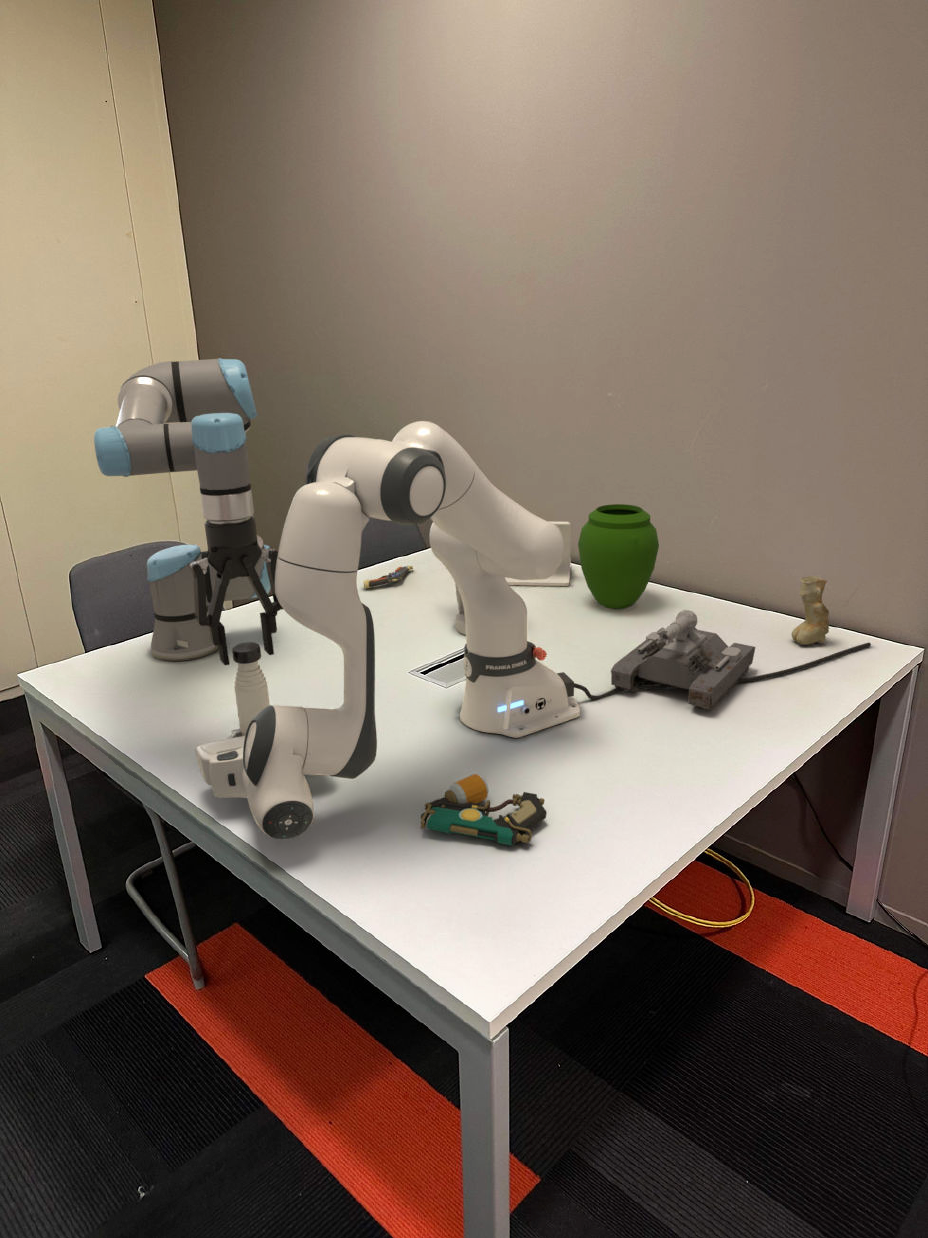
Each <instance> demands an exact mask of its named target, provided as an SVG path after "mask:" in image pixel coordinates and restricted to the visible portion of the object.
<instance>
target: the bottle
mask: <svg viewBox="0 0 928 1238" xmlns="http://www.w3.org/2000/svg"><path fill="white" fill-rule="evenodd" d="M236 670H237V671H236V673H235V674H236V676H235V678H234V680H235V681H234V694H235V695H234V696H235V702H236V709H237V716H238V723H239V724H238V725H239V729H240V731H241V734H242V736H246V732H247V729H248V726H249V724H250V722H251V721H252V720H253V719H254V718H255V717H256V716H257V715H258V714H259V713H260V712H261V711H262V710H263V709H265V708H266V707H268V706H270V705H271V704H270V695H269V687H268V681H267V678H266V676H265V674H264V672H263V670H262V669H261V665H260V664H259V660H258V661H256V662H253V663H248V664H239V663H237V669H236Z"/></svg>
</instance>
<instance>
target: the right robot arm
mask: <svg viewBox="0 0 928 1238" xmlns="http://www.w3.org/2000/svg"><path fill="white" fill-rule="evenodd" d="M370 518H371V519H376V520H382V521H388V522H393V523H394V524H398V525H406V526H407V525H408V526H412V525H414V526H415V525H420V524H423V523H425V522H428V521H429V520H430V521H432V522H431V523H432V524H431V526H430V529H429V534H428V535H429V537H428V540H429V541H428V542H429V546H430V549H431V552H432V554H433V555H434V557H435V558H436V559H437V560H438V561H439V562H440V563H442V565H443V566H444V567H445V568H446V569H447V571H448V573H449V574H450V576H451V578H452V580H453V582H454V585H455V584H456V586H457V588H458V591H459V593H460V596H461V599H462V602H463V607H464V613H465V625H466V635H465V640H466V641H465V644H464V647H463V648H464V649H463V669H464V670H463V671H464V675H465V687H464V694H463V700H462V705H461V707H460V708H461V709H460V712H459V719H460V721H461V723H463V725H465V726H466V727H468V728H470V729H473V730H475V731H477V732H482V733H489V734H498V735H499V734H500V735H504V736H507V737H510V738H514V739H515V738H516V739H517V738H522V737H524V736H527V735H530V734H533V733H536V732H539V731H542V730H545V729H548V728H551V727H554V726H557V725H559V724H562V723H565V722H568V721H571V720H574V719H577V718H579V717H580V715H581V711H580V710H581V709H580V705H579V704H578V702H577V701H576V699H575V698H574V696H575V689H578V690H580V691H582V692H584V694H585V696H586V697H587V698H588V699H589V700H593V701H599V700H602V699H605V698H607V697H611V696H612V695H614V694H616V693H619V692H623V691H625V690H624V689H622V688H620V687H618V688H615V687H614V688H613V689H611V690H608V691H607V692H605V693H603V694H598V695H595V694H594V695H593V694H591V692H590V690H589V689H588V688H587V687H586V686H584V685H582V684H579V683H575V681H574V680H573V679H572V678H571V677H570V676H569V675H568V674H567V673H565V672H564V671H562V672H556V671H554V670H553V669H552V668H550V667H548V666H547V665H545V664H544V663H542V662H543V661H544V660H545V659H546V658H547V657H548V656H547V655H548V654H547V651H546V650H545V649H543V647H540V646H536V644H534V643H533V642H531V641H529V640H528V608H527V605H526V603H525V601H524V599H523V597H522V596H520V594H518V593H517V592H516V591H515V590H514V589H513V588H512V587H511V585H509V584H508V583H507V581H506V579H505V577H507V578H512V579H517V580H541V579H547V578H549V577H551V576H552V575H553V574H554V573H555V572H556V571H557V570H558V568H559V566H560V565H561V563H562V560H563V557H564V550H565V545H564V539H563V536H562V534H561V532H560V530H559V528H558V527H557V526H556V525H554V524H552V523H550V522H551V521H548V520H545V519H544V518H541V517H539V516H537V515H536V514H534V513H532V512H530V511H529V510H528V509H526V508H525V507H523V506H522V505H520V503H517V502H516V501H515V500H513V498H511V497H509V496H508V495H507V494H505V493H504V492H503V491H501V490H500V489H498V488H497V486H495V485H494V484H493V483H492V482H491V481H490V480H489V479H488V477H487V476H486V475H485V474H484V473H483V471H482V470H481V469H480V468H479V466H478V465H477V464H476V462H475V461H474V460H473V458H472V457H471V456H470V454H469V453H468V452H467V451H466V450H465V448H464V447H462V445H461V444H460V443H459V442H458V441H457V440H456V439H455V438H454V437H453V436H451V435H450V434H449V432H447V431H446V430H444V429H443V428H442V427H440V426H439V425H438V424H437V423H434V422H432V421H428V420H418V421H413V422H411V423H409V424H407V425H405V426H404V427H402V428H401V429H400V430H399V431H398V432H397V433H396V435H395V436H394V437H393V439H392V441H391V440H385V439H380V438H378V439H377V438H370V437H360V436H355V435H352V434H336V435H332V436H328V437H326V438H324V439H323V440H321V441H320V442H319V443H318V444H317V445H316V447H315V449H314V450H313V452H312V453H311V456H310V458H309V461H308V464H307V467H306V475H305V485H303V486H301V487H300V488H298V490H297V491H296V493H295V494H294V496H293V498H292V501H291V503H290V506H289V509H288V512H287V515H286V518H285V521H284V525H283V529H282V531H281V537H280V541H279V546H278V551H277V552H278V557H277V563H276V571H275V594H276V597H277V599H278V601H279V603H280V605H281V606H282V608H283V610H284V612H285V613H286V614H287V615H288V616H290V617H291V618H292V619H293V620H294V621H296V622H297V623H298V624H300V625H301V626H303V627H305V628H306V629H309V630H310V631H313V632H315V633H317V634H319V635H321V636H323V637H325V638H326V639H329V640H330V641H332V642H334V644H336V645H338V646H339V648H340V649H341V652H342V655H343V703H342V705H340V706H339V707H338V708H318V707H317V708H316V707H304V706H296V705H272V704H270V706H268V707H266V708H265V709H263V710H262V711H261V712H260V713H259V714H258V715H257V716H256V717H255V718H254V719H253V720H252V721H251V722H250V724H249V726H248V729H247V732H246V736H242V734H241V731H240V728H237V729H231V733H230V735H229V736H228V737H227V738H226V739H222V740H216V741H212V742H206V743H201V744H199V745H198V746H197V747H196V748H195V754H196V760H197V764H198V769H199V772H200V774H201V777H202V778H203V780H204V782H205V783H206V784H207V785H208V786H210V787H211V788H212V792H213V796H214V797H215V798H218V799H224V798H243V799H247V803H248V806H249V809H250V813H251V815H252V818H253V819H254V822H255V823H256V825H257V827H258V828H259V830H260V831H261V832H262V833H263V834H264V835H266V836H267V837H269V838H272V839H276V840H287V839H294V838H296V837H298V836H300V835H302V834H303V833H305V832H306V831H307V830H308V829H309V828H310V827H311V826H312V824H313V822H314V818H315V808H314V800H313V797H312V793H311V789H310V787H309V783H308V780H307V778H306V776H305V775H307V776H330V777H333V778H334V777H335V778H342V779H352V780H354V779H356V778H358V777H359V776H361V775H362V774H363V773H364V772H366V771H367V770H368V769H369V768H370V767H371V766H372V765H373V764H374V762H375V760H376V756H377V750H378V737H377V723H376V639H375V624H374V619H373V615H372V611H371V609H370V608H369V607H368V606H367V605H366V604H365V603H363V602H362V601H361V598H360V595H359V591H358V584H357V583H358V581H357V579H358V570H359V565H360V564H359V563H360V557H361V547H362V536H363V535H362V534H363V531H364V530H365V528H366V526H367V524H368V523H369V521H370ZM456 586H455V587H456ZM871 645H872V643H871V642H869V641H868V642H866V643H862V644H859V645H856V646H853V647H850V648H847V649H844V650H840V651H837V652H835V653H832V654H830V655H827V656H824V657H820V658H818V659H815V660H811V661H810V662H807V663H803V664H801V665H797V666H793V667H790V668H786V669H783V670H779V671H773V672H770V673H765V674H760V675H754V676H748V677H742V678H740V679H738V682H737V683H736V684H740V683H748V682H753V681H754V682H755V681H759V680H760V681H761V680H764V679H769V678H775V677H778V676H783V675H787V674H790V673H794V672H797V671H801V670H804V669H807V668H810V667H813V666H816V665H819V664H821V663H824V662H827V661H830V660H832V659H835V658H838V657H841V656H843V655H846V654H849V653H852V652H855V651H859V650H861V649H866V648H868V647H871ZM663 689H664V690H665V689H680V688H679V687H675V686H671V685H666V684H642V685H638V686H637V690H663Z"/></svg>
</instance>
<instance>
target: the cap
mask: <svg viewBox="0 0 928 1238" xmlns="http://www.w3.org/2000/svg"><path fill="white" fill-rule="evenodd" d="M231 648H232V650H231V652H232V660H233V662H234V663H236V664H238V663H239V664H248V663H253V662H256V661H258V662H259V660H261V659H262V650H261V645H260V644H259V643H258V642H253V641H247V642H240V643H237V644H236V645H234V646H232V647H231Z"/></svg>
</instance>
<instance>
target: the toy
mask: <svg viewBox="0 0 928 1238" xmlns="http://www.w3.org/2000/svg"><path fill="white" fill-rule="evenodd" d="M697 625H698V616H697V614H696V613H695V612H694V611H693V610H690V609H683V610H681V611H679V612H678V613H677V615H676V617H675V620H673V622H671V623H670V624H669V625H668V626H666V628H665V627H661V628H660V629H658V630H657V631H652V632H650V633H649V634H648V635H647V636H645V640H643V641H642V642H641V643H640V644H638V645H637V646H636V647H635V648H633V649H632V650H631V651H630V652H628V653H627V654H625V655H624V656H623V657H621V658H620V659H619V660H618V661H617V662H615V663H614V664H613V666H612V667H611V669H610V674H611V677H610V678H611V680H610V681H611V682H610V683H611V684H610V685H611V686H614V689H615V688H618V687H620V688H622V689H624V691H626V692H630V693H634V692H635V691H637V690H638V689H637V686H638V685H645V683H646V682H648V681H651V682H653V683H658V684H661V685H664V684H666V685H671V686H675V687H679V688H678V689H684V690H688V699H687V700H688V701H687V704H688V705H691V706H693V707H696V708H700V709H704V710H708V711H712V710H713V709H714V708H715V707H716V706H717V705H718V704H719V703H720V701H721V700H723V698H724V697H725V696H726V695H727V694H728V693H729V692H730V691H731V690H732V689H733V688H734V687H735V686H736V685H737V684H738V683H737V682H738V679H740V678H744V677H745V675H746V674H747V673H748V671H749V669H750V667H751V665H752V664H753V662H754V657H755V652H756V646H754V645H748V644H743V643H738V642H733V643H732V644H731V645H730V646H729V645H728V644H727V643H726V642H725V641H724V640H723V639H722V637H721V636H720V635H718V634H717V632H711V631H706V630H702V629H698V628H696V626H697Z"/></svg>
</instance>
